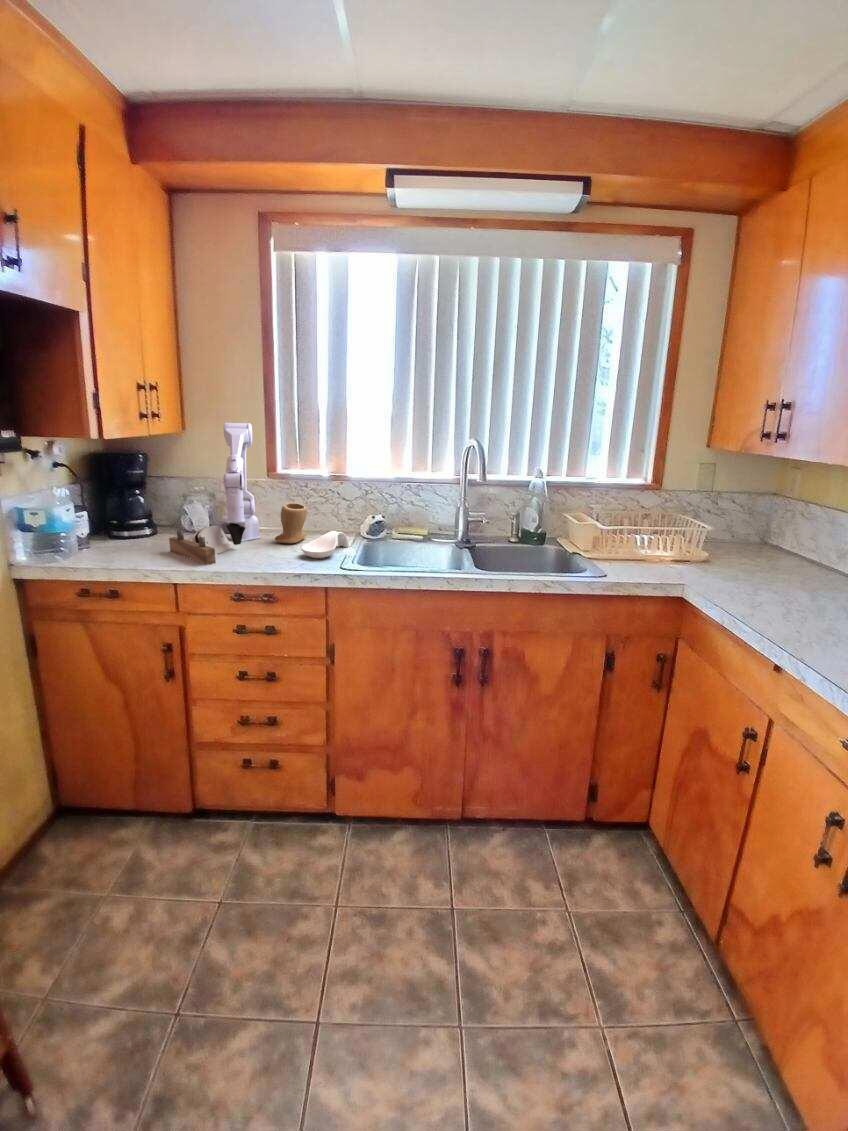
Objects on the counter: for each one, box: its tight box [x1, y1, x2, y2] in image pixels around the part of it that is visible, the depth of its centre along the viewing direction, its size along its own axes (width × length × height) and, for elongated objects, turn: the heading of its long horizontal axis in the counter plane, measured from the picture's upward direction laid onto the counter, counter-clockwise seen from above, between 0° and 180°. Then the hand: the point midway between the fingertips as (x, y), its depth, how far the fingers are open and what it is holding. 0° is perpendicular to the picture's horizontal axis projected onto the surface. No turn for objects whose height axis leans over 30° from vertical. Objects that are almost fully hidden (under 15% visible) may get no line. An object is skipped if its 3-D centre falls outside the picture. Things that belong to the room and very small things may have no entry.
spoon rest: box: [301, 530, 350, 559], centre depth 203 cm, size 24×12×7 cm, turn 159°
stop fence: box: [168, 530, 217, 565], centre depth 190 cm, size 3×24×8 cm, turn 50°
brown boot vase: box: [274, 502, 308, 544], centre depth 218 cm, size 15×12×15 cm
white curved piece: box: [191, 525, 234, 556], centre depth 199 cm, size 17×5×10 cm, turn 172°
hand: (237, 544), depth 203 cm, fingers closed
